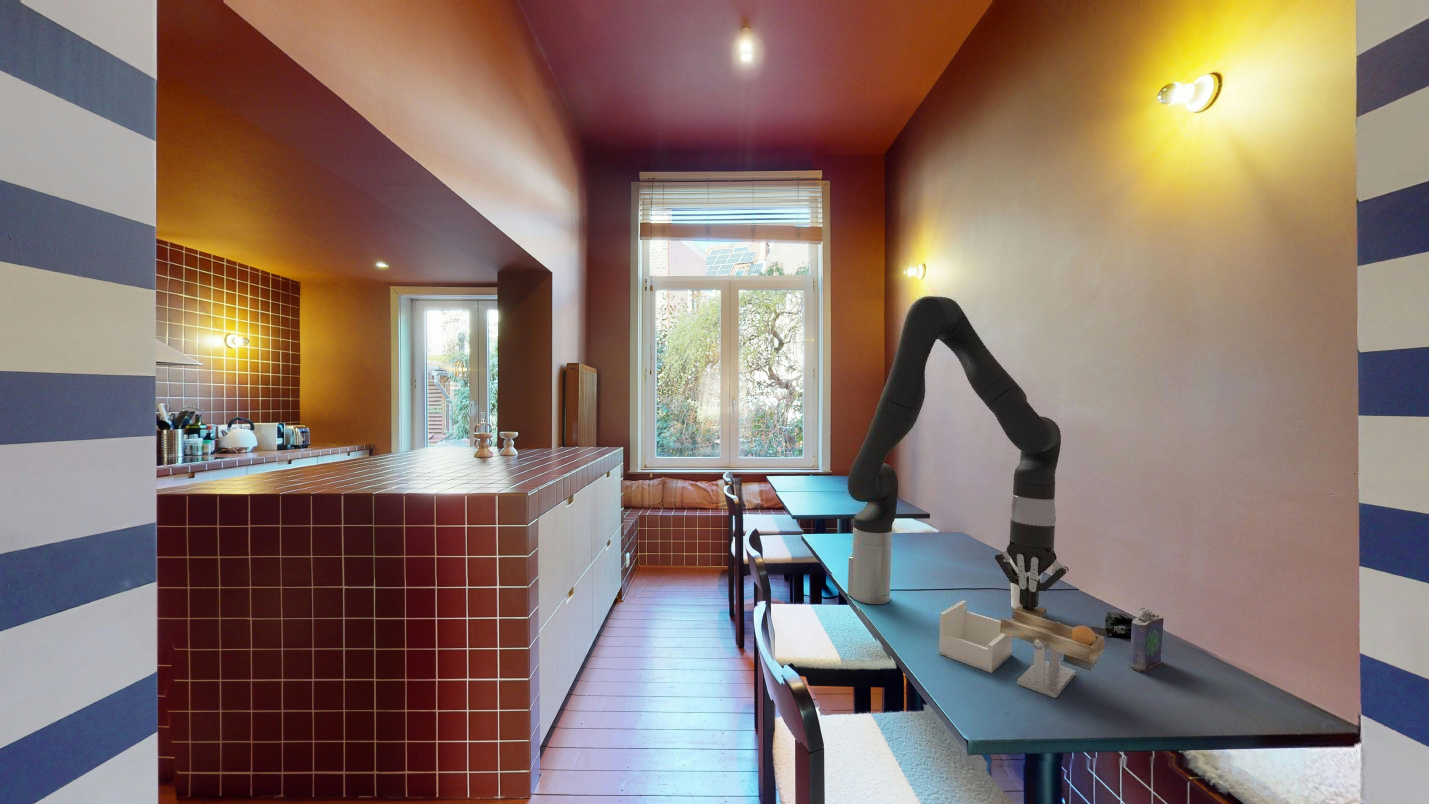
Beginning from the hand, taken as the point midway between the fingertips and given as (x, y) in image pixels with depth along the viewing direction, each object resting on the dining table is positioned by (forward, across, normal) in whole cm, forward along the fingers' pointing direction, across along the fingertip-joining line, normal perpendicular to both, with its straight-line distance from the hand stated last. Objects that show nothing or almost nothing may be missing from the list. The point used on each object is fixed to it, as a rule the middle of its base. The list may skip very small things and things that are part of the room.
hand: (1028, 608), depth 109 cm
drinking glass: (+10, -9, +27) cm, 30 cm away
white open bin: (+10, -7, -6) cm, 14 cm away
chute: (+5, +6, -3) cm, 8 cm away
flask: (+10, +16, +15) cm, 24 cm away
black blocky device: (+10, +10, +28) cm, 31 cm away
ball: (0, +11, -6) cm, 12 cm away
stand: (+10, +5, -6) cm, 13 cm away
